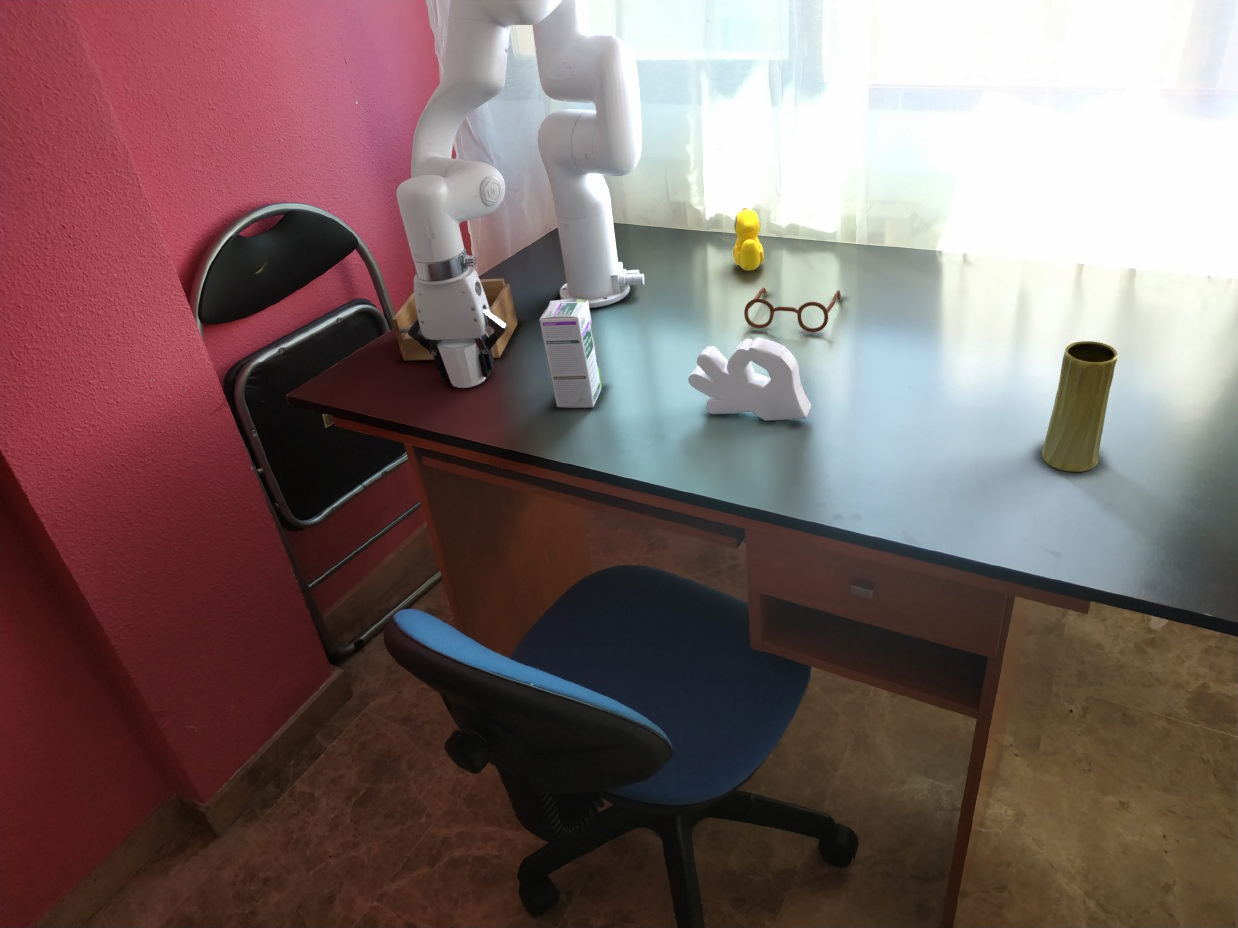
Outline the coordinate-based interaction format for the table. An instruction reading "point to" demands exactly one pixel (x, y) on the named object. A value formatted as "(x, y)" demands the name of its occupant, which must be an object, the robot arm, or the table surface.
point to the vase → (1080, 407)
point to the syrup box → (571, 353)
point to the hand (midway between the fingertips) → (467, 372)
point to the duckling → (747, 240)
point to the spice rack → (499, 307)
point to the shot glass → (461, 362)
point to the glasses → (799, 311)
